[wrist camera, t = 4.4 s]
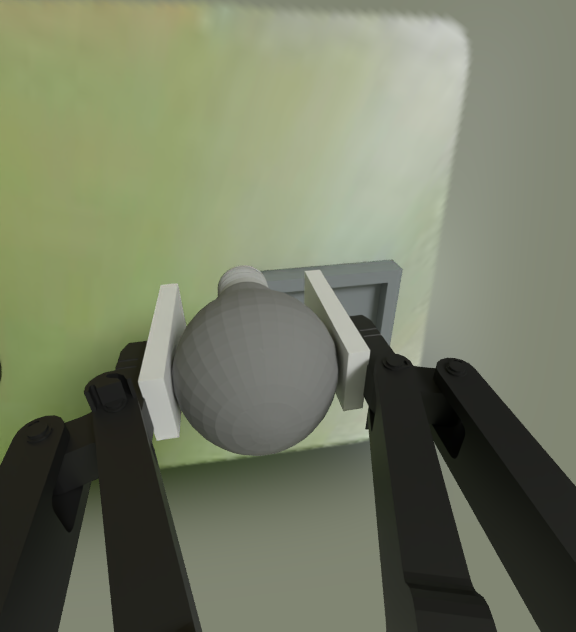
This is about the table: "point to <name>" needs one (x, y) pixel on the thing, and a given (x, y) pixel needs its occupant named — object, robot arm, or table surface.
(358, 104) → the table surface
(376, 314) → the dish
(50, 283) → the table surface
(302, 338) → the grey light bulb
